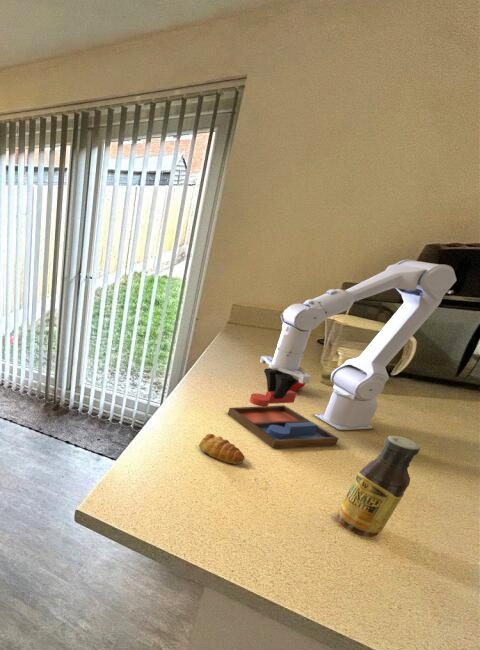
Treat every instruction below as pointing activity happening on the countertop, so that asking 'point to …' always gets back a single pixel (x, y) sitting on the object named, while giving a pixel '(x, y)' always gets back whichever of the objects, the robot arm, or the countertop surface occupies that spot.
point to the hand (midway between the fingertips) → (275, 395)
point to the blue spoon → (292, 430)
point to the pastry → (221, 449)
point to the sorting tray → (279, 415)
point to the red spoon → (271, 398)
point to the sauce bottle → (378, 488)
